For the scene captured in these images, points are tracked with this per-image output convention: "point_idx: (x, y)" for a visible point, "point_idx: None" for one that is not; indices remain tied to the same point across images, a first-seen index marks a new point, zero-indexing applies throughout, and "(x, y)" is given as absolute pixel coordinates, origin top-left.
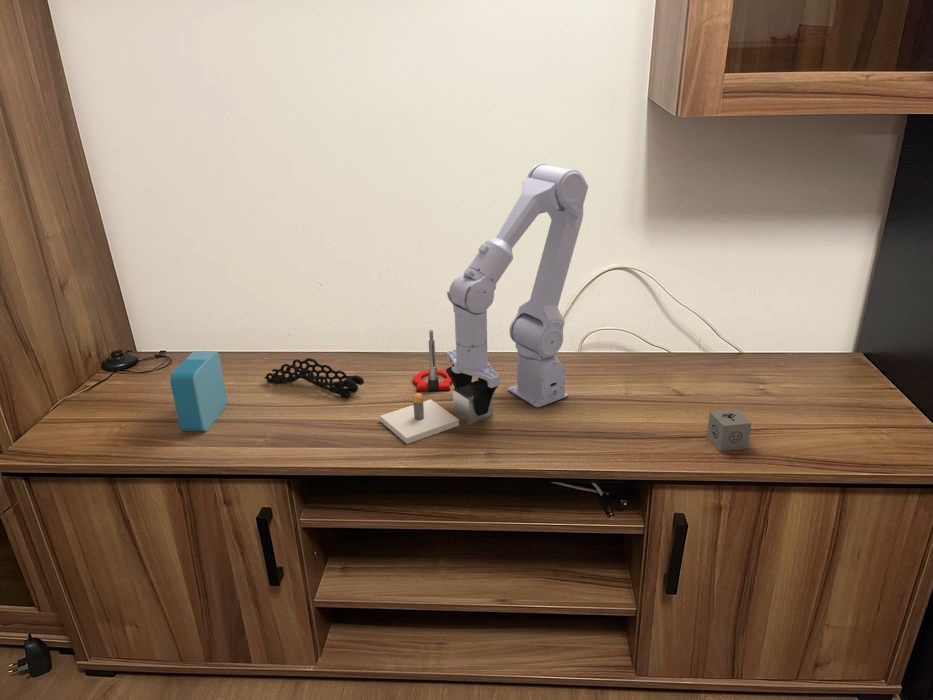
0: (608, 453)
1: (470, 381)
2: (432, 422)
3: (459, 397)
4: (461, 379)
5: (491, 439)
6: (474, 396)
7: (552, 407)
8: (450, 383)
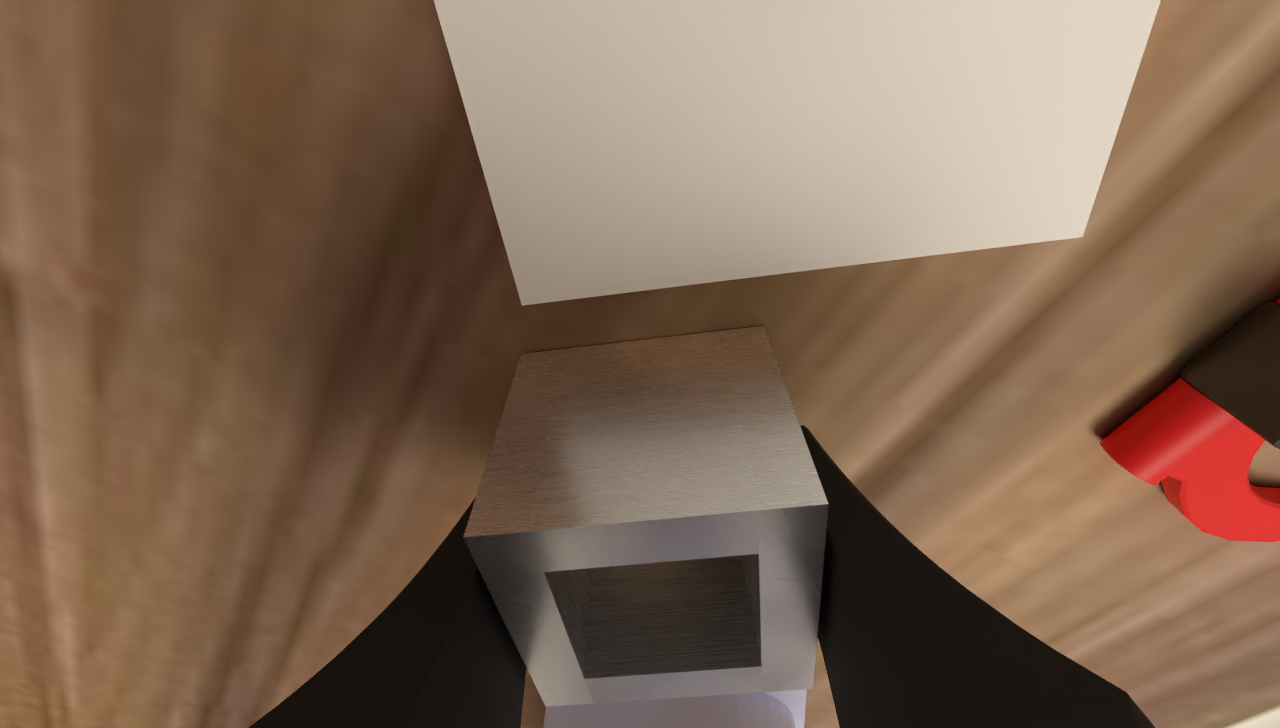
0: (52, 703)
1: (830, 673)
2: (580, 9)
3: (664, 479)
4: (856, 675)
5: (241, 390)
6: (427, 618)
7: (526, 708)
8: (1167, 483)
